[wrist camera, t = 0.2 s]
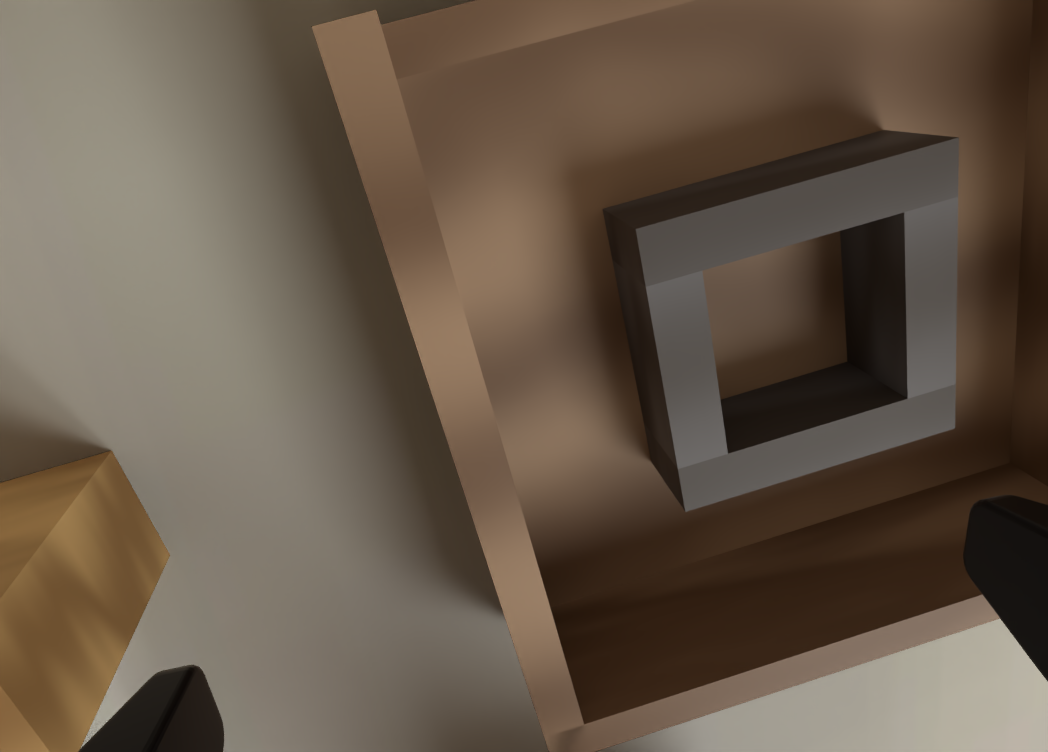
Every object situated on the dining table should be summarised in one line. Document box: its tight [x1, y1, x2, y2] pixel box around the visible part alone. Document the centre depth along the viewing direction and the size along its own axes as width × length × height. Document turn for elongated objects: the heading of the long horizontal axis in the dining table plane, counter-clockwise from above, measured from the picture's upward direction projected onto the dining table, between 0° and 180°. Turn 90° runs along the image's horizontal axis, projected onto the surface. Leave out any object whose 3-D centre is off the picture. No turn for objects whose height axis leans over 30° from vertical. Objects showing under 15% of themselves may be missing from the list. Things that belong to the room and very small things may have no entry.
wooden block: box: [0, 451, 170, 752], centre depth 18 cm, size 4×4×8 cm
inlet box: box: [311, 0, 1048, 752], centre depth 20 cm, size 20×20×6 cm
